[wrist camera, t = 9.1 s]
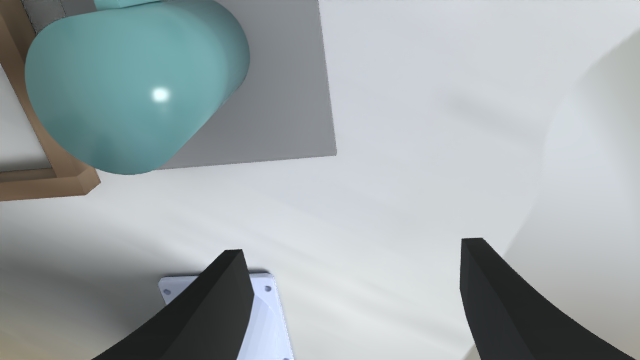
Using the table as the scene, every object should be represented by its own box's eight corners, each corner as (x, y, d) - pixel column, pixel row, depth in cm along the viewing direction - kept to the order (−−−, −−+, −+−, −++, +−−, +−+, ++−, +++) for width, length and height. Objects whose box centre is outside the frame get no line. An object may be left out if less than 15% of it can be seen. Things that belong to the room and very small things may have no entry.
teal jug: (258, 97, 20) (204, 169, 13) (165, 106, 21) (66, 179, 14) (229, -56, 17) (135, -69, 10) (120, -40, 18) (-38, -41, 11)
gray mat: (336, 152, 22) (336, 155, 21) (131, 169, 23) (128, 172, 23) (303, -121, 16) (302, -122, 16) (37, -72, 18) (31, -73, 17)
